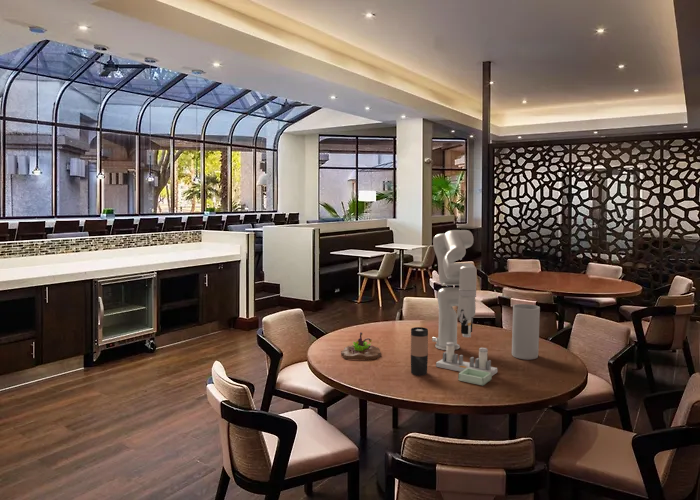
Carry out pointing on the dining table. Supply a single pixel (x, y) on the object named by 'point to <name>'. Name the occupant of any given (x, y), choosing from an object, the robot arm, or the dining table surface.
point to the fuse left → (449, 352)
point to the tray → (475, 376)
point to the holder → (464, 364)
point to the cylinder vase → (525, 331)
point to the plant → (361, 350)
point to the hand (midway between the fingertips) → (466, 332)
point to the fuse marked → (468, 328)
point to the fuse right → (483, 358)
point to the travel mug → (419, 350)
